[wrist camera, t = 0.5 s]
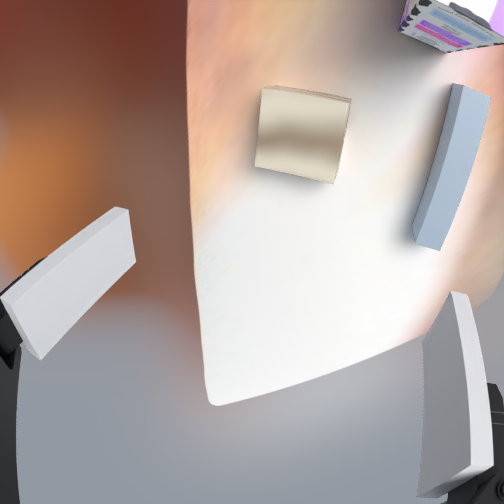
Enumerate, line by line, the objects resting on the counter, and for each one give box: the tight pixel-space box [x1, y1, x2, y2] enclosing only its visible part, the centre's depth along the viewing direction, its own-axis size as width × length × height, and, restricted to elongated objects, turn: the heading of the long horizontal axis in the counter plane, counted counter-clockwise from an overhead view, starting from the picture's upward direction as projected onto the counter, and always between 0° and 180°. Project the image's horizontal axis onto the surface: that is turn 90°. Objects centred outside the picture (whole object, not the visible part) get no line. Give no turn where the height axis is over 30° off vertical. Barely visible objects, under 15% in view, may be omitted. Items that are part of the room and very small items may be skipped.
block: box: [255, 85, 351, 184], centre depth 31 cm, size 8×8×5 cm
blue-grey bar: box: [412, 83, 491, 251], centre depth 27 cm, size 17×3×4 cm, turn 174°
